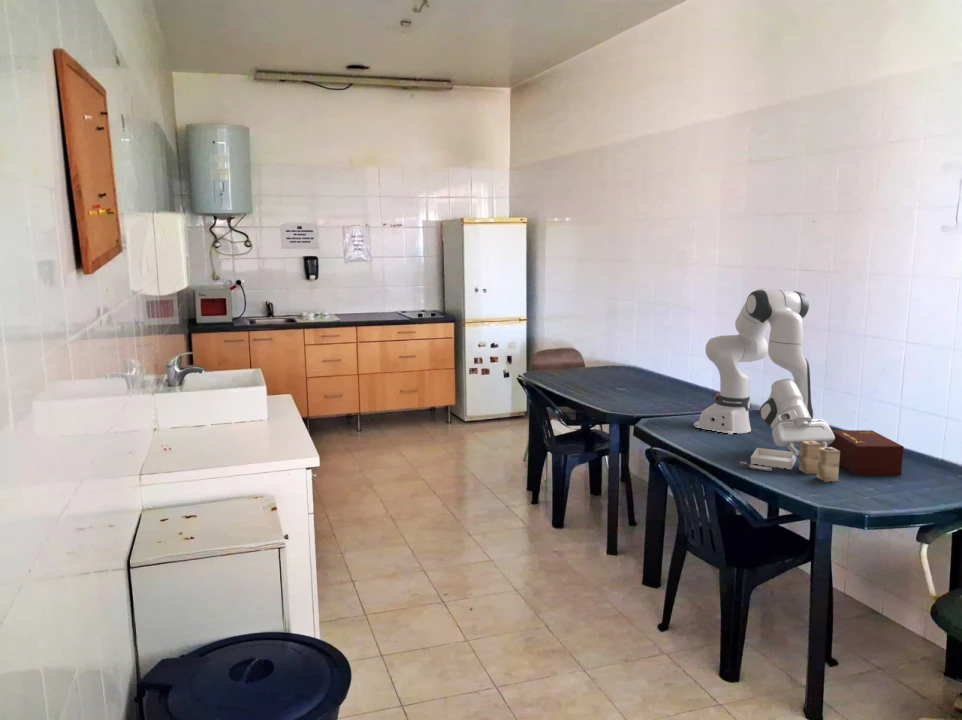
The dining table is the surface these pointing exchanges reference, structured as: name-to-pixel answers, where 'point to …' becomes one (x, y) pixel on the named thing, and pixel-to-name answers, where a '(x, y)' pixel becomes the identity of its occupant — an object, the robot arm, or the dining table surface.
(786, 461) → the tray
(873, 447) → the box
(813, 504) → the dining table surface
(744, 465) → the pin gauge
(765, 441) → the dining table surface
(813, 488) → the dining table surface
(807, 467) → the small-bore block
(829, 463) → the large-bore block
